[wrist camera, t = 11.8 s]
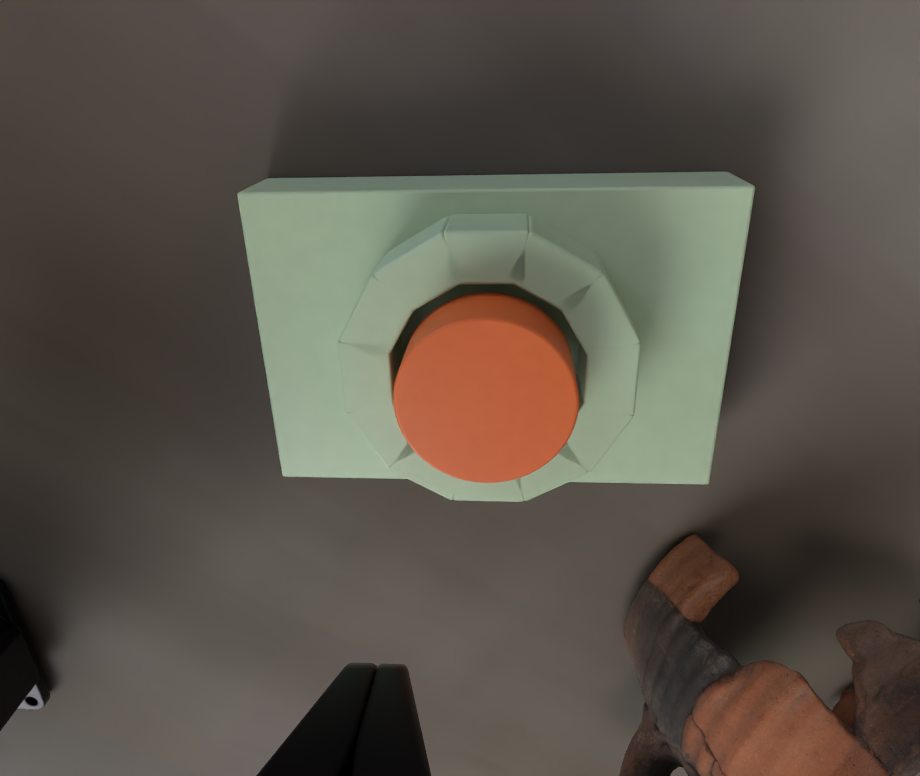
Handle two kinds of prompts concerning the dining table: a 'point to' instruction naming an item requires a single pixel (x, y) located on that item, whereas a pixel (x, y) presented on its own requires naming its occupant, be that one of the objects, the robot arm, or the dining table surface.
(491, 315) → the call button
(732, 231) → the box
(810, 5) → the dining table surface
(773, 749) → the pottery mug
